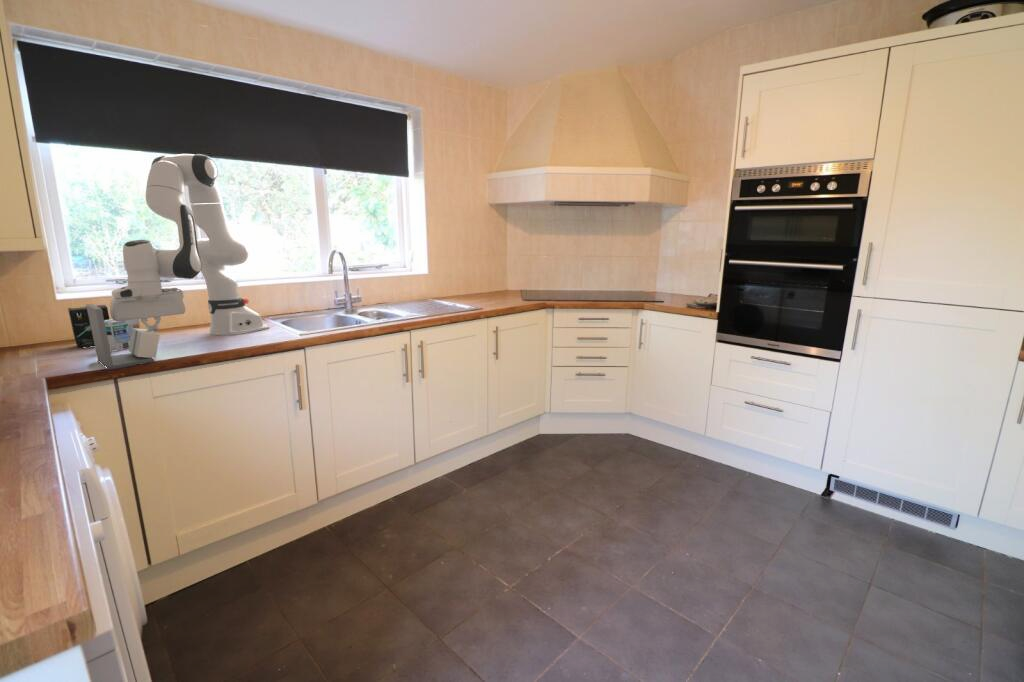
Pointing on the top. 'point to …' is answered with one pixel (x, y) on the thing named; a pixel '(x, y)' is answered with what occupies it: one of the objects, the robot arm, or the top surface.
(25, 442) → the top surface
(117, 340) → the light bulb box
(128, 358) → the display platform
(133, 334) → the cream carton
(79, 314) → the tampon box
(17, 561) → the top surface
